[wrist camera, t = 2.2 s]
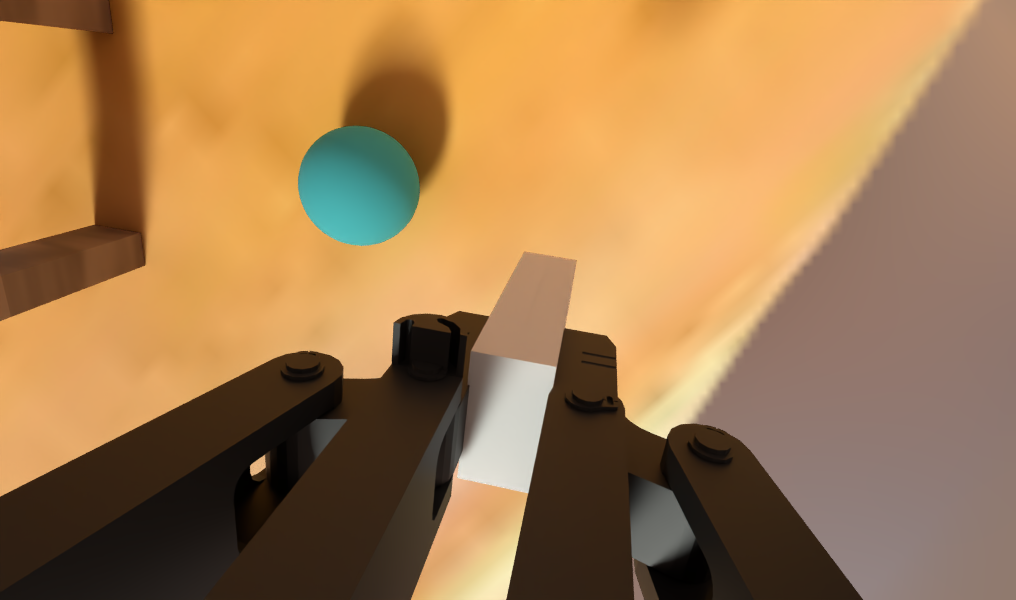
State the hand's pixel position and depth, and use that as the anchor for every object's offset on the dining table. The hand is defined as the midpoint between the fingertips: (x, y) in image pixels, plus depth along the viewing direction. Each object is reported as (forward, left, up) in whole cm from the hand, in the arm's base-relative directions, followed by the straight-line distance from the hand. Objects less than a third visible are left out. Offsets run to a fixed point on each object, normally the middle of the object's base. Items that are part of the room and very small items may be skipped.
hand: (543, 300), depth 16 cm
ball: (0, -10, -10) cm, 14 cm away
